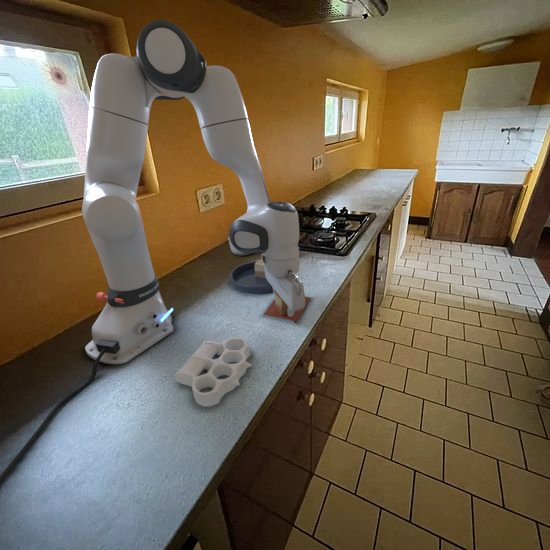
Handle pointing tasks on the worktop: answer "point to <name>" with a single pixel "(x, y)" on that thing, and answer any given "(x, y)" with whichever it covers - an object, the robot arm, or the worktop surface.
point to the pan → (249, 280)
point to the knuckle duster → (215, 369)
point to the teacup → (236, 250)
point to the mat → (273, 312)
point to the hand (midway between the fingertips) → (284, 307)
